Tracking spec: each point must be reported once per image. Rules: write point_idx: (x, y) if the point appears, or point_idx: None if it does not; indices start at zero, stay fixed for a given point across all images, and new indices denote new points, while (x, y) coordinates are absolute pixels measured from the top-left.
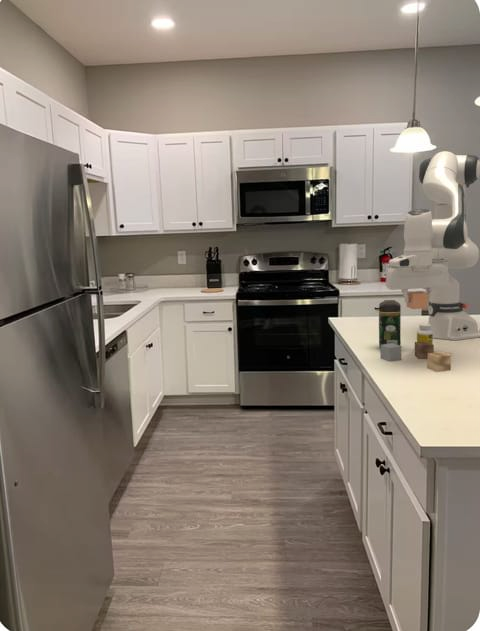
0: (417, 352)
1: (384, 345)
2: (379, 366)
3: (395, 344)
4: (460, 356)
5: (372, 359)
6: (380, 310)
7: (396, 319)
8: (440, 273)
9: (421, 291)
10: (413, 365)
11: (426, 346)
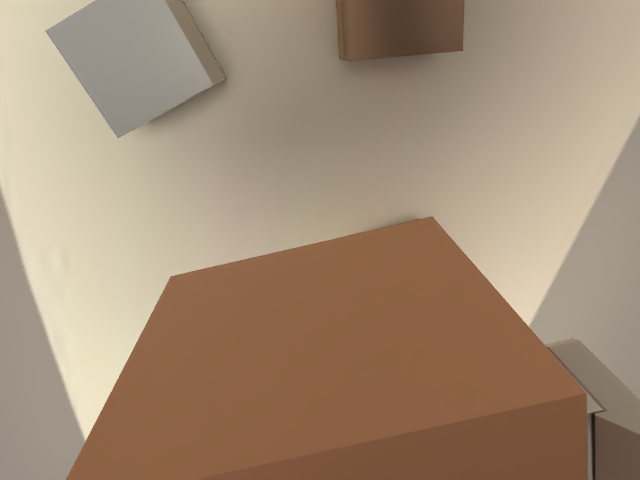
0: (341, 23)
1: (78, 54)
2: (88, 225)
3: (169, 23)
4: (614, 4)
5: (35, 64)
6: None
7: None
8: None
9: (570, 441)
10: (279, 206)
11: (405, 55)
